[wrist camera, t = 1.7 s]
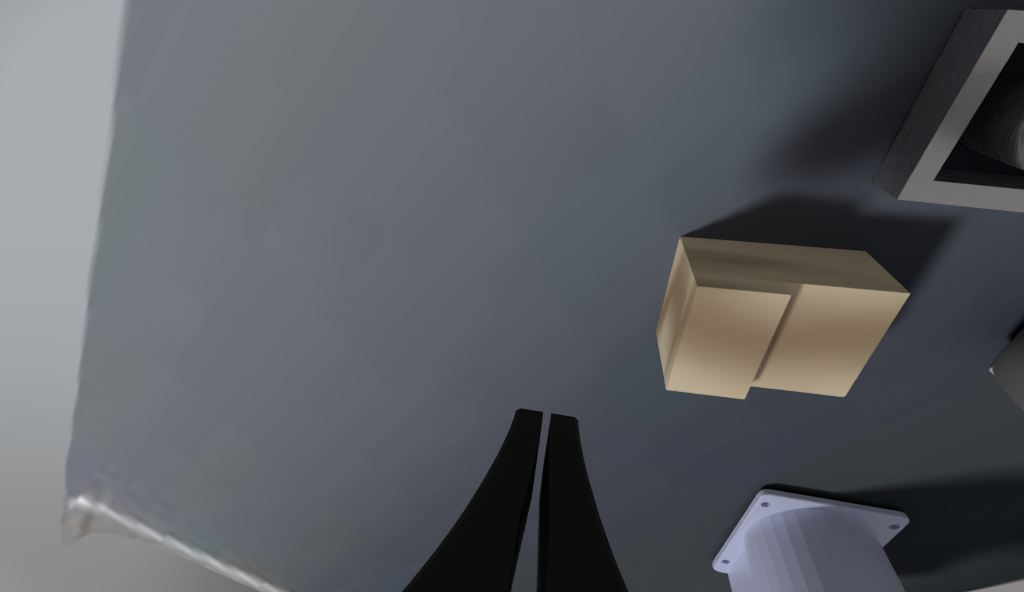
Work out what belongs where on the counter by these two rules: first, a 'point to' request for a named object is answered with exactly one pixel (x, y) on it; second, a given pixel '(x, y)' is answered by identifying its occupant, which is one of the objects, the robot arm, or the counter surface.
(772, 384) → the block
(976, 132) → the pin
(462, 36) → the counter surface
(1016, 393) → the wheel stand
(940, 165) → the pin socket
